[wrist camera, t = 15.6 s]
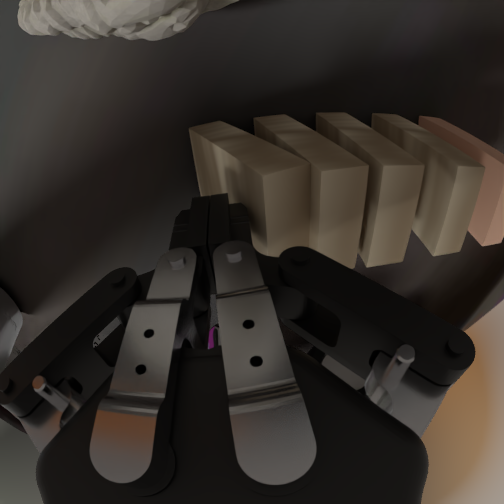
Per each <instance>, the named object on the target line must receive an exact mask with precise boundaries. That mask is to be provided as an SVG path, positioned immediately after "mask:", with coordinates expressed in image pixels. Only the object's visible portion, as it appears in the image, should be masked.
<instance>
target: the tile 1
mask: <svg viewBox="0 0 504 504" xmlns="http://www.w3.org/2000/svg"><path fill="white" fill-rule="evenodd" d="M189 134H190V140H191V145H192V151H193V157H194V162H195V168H196V173H197V178H198V184H199V189H200V194H201V196H208V195H210V196H211V195H215V194H222V193H228V198H229V204H233V203H240V202H241V203H242V204H243V205H244V206H246V207H247V211H248V217H249V223H250V230H251V236H252V242H253V246H254V248H255V249H256V250H257V251H258V252H260V253H261V254H264V255H267V256H273V257H279V255H280V254H281V253H282V252H283V251H284V250H286V249H288V248H290V247H295V246H304V247H309V232H310V195H311V163H309V162H308V161H306V160H304V159H302V158H300V157H298V156H296V155H294V154H292V153H290V152H288V151H286V150H284V149H282V148H280V147H278V146H275V145H273V144H271V143H269V142H267V141H265V140H263V139H261V138H258V137H256V136H254V135H252V134H250V133H247V132H245V131H243V130H241V129H238V128H236V127H234V126H231V125H229V124H227V123H224V122H222V121H216V122H211V123H207V124H203V125H198V126H194V127H190V128H189Z"/></svg>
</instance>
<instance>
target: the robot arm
mask: <svg viewBox="0 0 504 504" xmlns="http://www.w3.org/2000/svg"><path fill="white" fill-rule="evenodd" d="M212 294H217V295H216V305H217V313H218V322H219V330H220V338H221V345H219V346H216V347H213V348H210V349H208V342H209V331H210V320H211V307H210V295H212ZM116 317H117V318H118V320H119V321H120V323H121V324H120V325H119V326H118V327H117V328H116V329H115V330H114V331H113V332H112V333H110V334H109V335H108V336H107V337H106V338H105V339H104V340H103V341H102V342H101V343H100V344H99V345H98V346H97V347H95V348H93V340H94V338H95V337H96V336H97V335H98V334H99V333H100V332H101V331H102V330H103V329H104V328H105V327H106V326H107V325H108V324H109V323H110V322H111V321H113V320H114V319H115V318H116ZM277 318H280V319H281V321H282V323H283V324H284V325H285V326H287V327H288V328H290V329H291V330H292V331H294V332H295V333H297V334H298V335H299V336H301V337H302V338H304V339H305V340H307V341H308V342H310V343H311V344H312V345H314V346H315V347H317V348H318V349H320V350H321V351H323V352H324V353H325V354H327V355H328V356H330V357H331V358H333V359H334V360H336V361H337V362H339V363H340V364H342V365H343V366H345V367H346V368H348V369H349V370H351V371H352V372H354V373H355V374H357V375H358V376H360V377H361V378H363V379H364V380H365V391H366V394H367V395H368V397H369V398H370V399H371V400H372V401H373V402H374V403H373V402H372V401H371V400H369V399H368V398H367V397H365V396H364V395H362V394H361V393H360V392H358V391H357V390H355V389H354V388H353V387H351V386H350V385H349V384H347V383H346V382H345V381H343V380H342V379H341V378H339V377H338V376H337V375H335V374H334V373H333V372H331V371H330V370H329V369H327V368H326V367H325V366H323V365H322V364H321V363H319V362H318V361H317V360H315V359H314V358H313V357H311V356H309V355H308V354H306V353H304V352H302V351H300V350H297V349H294V348H291V347H288V346H285V343H284V339H283V336H282V332H281V329H280V326H279V322H278V319H277ZM22 322H23V319H22V315H21V313H20V311H19V309H18V307H17V306H16V304H15V302H14V301H13V300H12V299H11V298H10V296H9V295H8V294H7V293H6V292H5V291H4V290H3V289H2V288H0V404H1V405H2V406H3V407H4V408H6V409H7V410H9V411H10V412H11V413H12V414H13V415H14V416H15V417H17V418H18V419H20V421H21V423H22V425H23V426H24V428H25V430H26V432H27V433H28V435H29V437H30V438H31V440H32V441H33V443H34V445H35V446H36V448H37V449H38V451H39V452H40V456H39V459H38V462H37V466H36V480H37V485H38V488H39V491H40V494H41V497H42V500H43V503H44V504H421V498H422V493H423V489H424V485H425V482H426V478H427V474H428V455H427V451H426V448H425V446H424V444H423V442H422V440H421V439H420V438H421V437H422V435H423V433H424V432H425V430H426V429H427V427H428V425H429V424H430V422H431V420H432V418H433V417H434V415H435V413H436V411H437V409H438V407H439V406H440V404H441V402H442V400H443V398H444V396H445V394H446V392H447V391H448V390H449V388H450V387H451V386H452V385H453V384H454V383H455V382H456V381H457V380H458V379H459V378H460V376H461V375H462V374H463V373H464V372H465V371H466V370H467V369H468V368H469V366H470V365H471V364H472V362H473V361H474V358H475V347H474V344H473V342H472V340H471V339H470V337H469V336H468V335H467V334H466V333H465V332H463V331H462V330H460V329H458V328H457V327H455V326H453V325H451V324H450V323H448V322H446V321H445V320H443V319H441V318H439V317H438V316H436V315H434V314H432V313H430V312H429V311H427V310H425V309H423V308H422V307H420V306H418V305H416V304H414V303H413V302H411V301H409V300H407V299H405V298H404V297H402V296H400V295H398V294H396V293H395V292H393V291H391V290H389V289H387V288H385V287H384V286H382V285H380V284H378V283H376V282H374V281H373V280H371V279H369V278H367V277H365V276H363V275H361V274H360V273H358V272H356V271H354V270H352V269H350V268H348V267H346V266H344V265H343V264H341V263H339V262H337V261H335V260H333V259H331V258H329V257H327V256H325V255H323V254H322V253H320V252H318V251H316V250H314V249H312V248H309V247H304V246H295V247H290V248H288V249H286V250H284V251H283V252H282V253H281V254H280V255H279V257H273V256H267V255H264V254H261V253H260V252H258V251H257V250H256V249H255V248H254V246H253V242H252V236H251V230H250V223H249V217H248V211H247V207H246V206H244V205H243V204H242V203H241V202H240V203H233V204H229V198H228V193H222V194H215V195H211V196H210V195H208V196H201V197H194V198H192V204H191V209H189V210H183V211H181V212H180V213H179V215H178V216H177V217H176V219H175V223H174V228H173V233H172V237H171V242H170V247H169V251H167V252H166V253H164V254H163V255H162V256H161V257H160V259H159V260H158V263H157V266H156V269H154V270H152V271H150V272H147V273H145V274H142V275H139V276H137V274H136V272H135V271H134V270H133V269H131V268H128V267H123V268H118V269H116V270H113V271H112V272H110V273H109V274H107V275H106V276H105V277H104V278H103V279H101V280H100V281H99V282H98V283H97V284H95V285H94V286H93V287H92V288H91V289H90V290H88V291H87V292H86V293H85V294H84V295H83V296H82V297H80V298H79V299H78V300H77V301H76V302H75V303H74V304H72V305H71V306H70V307H69V308H68V309H67V310H66V311H65V312H63V313H62V314H61V315H60V316H59V317H58V318H57V319H56V320H55V321H54V322H52V323H51V324H50V325H49V326H48V327H47V328H46V329H45V330H44V331H43V332H42V333H41V334H40V335H39V336H38V337H37V338H35V339H34V340H33V341H32V342H31V343H30V344H29V345H28V346H27V347H26V348H25V349H24V350H23V351H22V352H21V353H20V354H19V355H18V356H17V357H16V358H15V359H14V360H13V361H12V362H11V363H10V364H9V365H8V366H7V367H6V364H7V361H8V359H9V356H10V353H11V351H12V348H13V346H14V343H15V340H16V338H17V335H18V333H19V331H20V328H21V326H22ZM5 367H6V368H5Z"/></svg>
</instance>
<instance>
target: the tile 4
mask: <svg viewBox="0 0 504 504" xmlns="http://www.w3.org/2000/svg"><path fill="white" fill-rule="evenodd" d="M371 128H372V129H373V130H375V131H376V132H378V133H379V134H381V135H383V136H384V137H386V138H387V139H389V140H390V141H392V142H393V143H395V144H396V145H397V146H399V147H400V148H402V149H403V150H405V151H406V152H407V153H409V154H410V155H412V156H413V157H414V158H416V159H417V160H418V161H420V162H421V163H422V164H424V165H425V167H424V173H423V178H422V184H421V189H420V194H419V198H418V203H417V208H416V212H415V216H414V221H413V225H412V230H413V231H414V232H415V234H416V235H417V236H418V237H419V239H420V240H421V241H422V242H423V244H424V245H425V246H426V248H427V249H428V250H429V251H430V253H431V254H432V255H433V256H438V255H443V254H449V253H454V252H460V249H461V246H462V244H463V241H464V238H465V236H466V233H467V230H468V227H469V224H470V221H471V218H472V215H473V212H474V208H475V205H476V202H477V198H478V195H479V191H480V187H481V184H482V180H483V176H484V172H485V167H484V166H483V165H481V164H480V163H479V162H477V161H476V160H474V159H473V158H471V157H470V156H468V155H467V154H465V153H464V152H462V151H461V150H459V149H458V148H456V147H454V146H453V145H451V144H450V143H448V142H446V141H445V140H443V139H441V138H440V137H438V136H436V135H434V134H433V133H431V132H429V131H427V130H426V129H424V128H422V127H420V126H418V125H416V124H415V123H413V122H411V121H409V120H407V119H405V118H403V117H401V116H399V115H397V114H383V113H372V124H371Z"/></svg>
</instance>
